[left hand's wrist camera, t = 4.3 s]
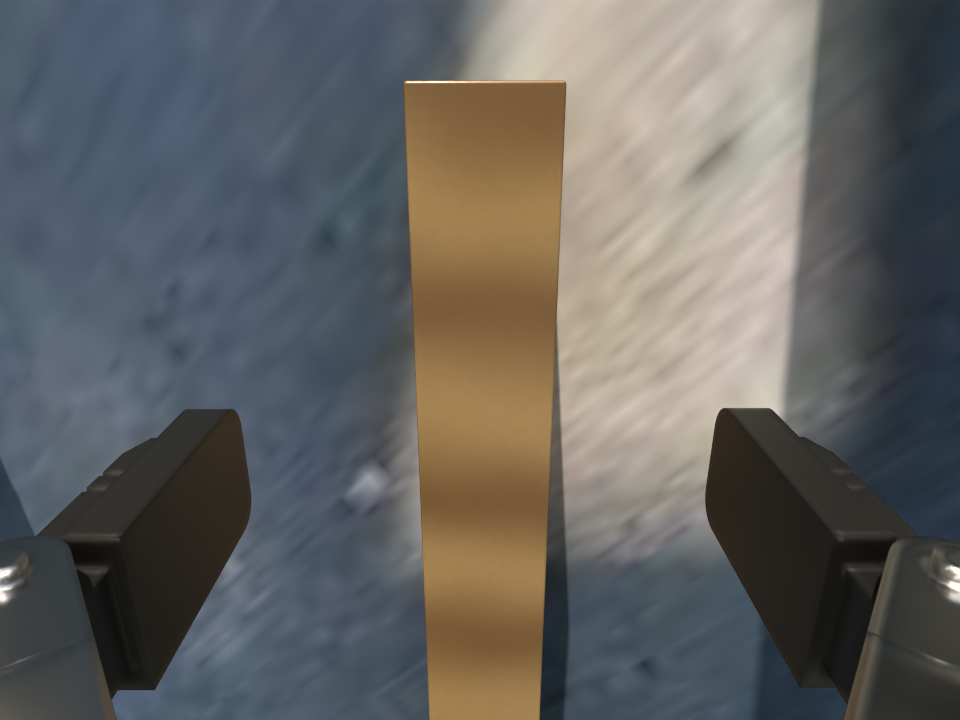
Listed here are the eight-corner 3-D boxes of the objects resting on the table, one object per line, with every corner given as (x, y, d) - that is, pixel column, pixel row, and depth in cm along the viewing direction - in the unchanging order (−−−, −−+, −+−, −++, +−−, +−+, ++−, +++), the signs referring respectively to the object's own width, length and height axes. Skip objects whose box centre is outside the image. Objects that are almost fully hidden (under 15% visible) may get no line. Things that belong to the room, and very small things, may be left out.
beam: (421, 87, 25) (402, 80, 20) (547, 87, 25) (567, 80, 19) (450, 982, 47) (445, 1109, 41) (518, 983, 47) (523, 1109, 41)
